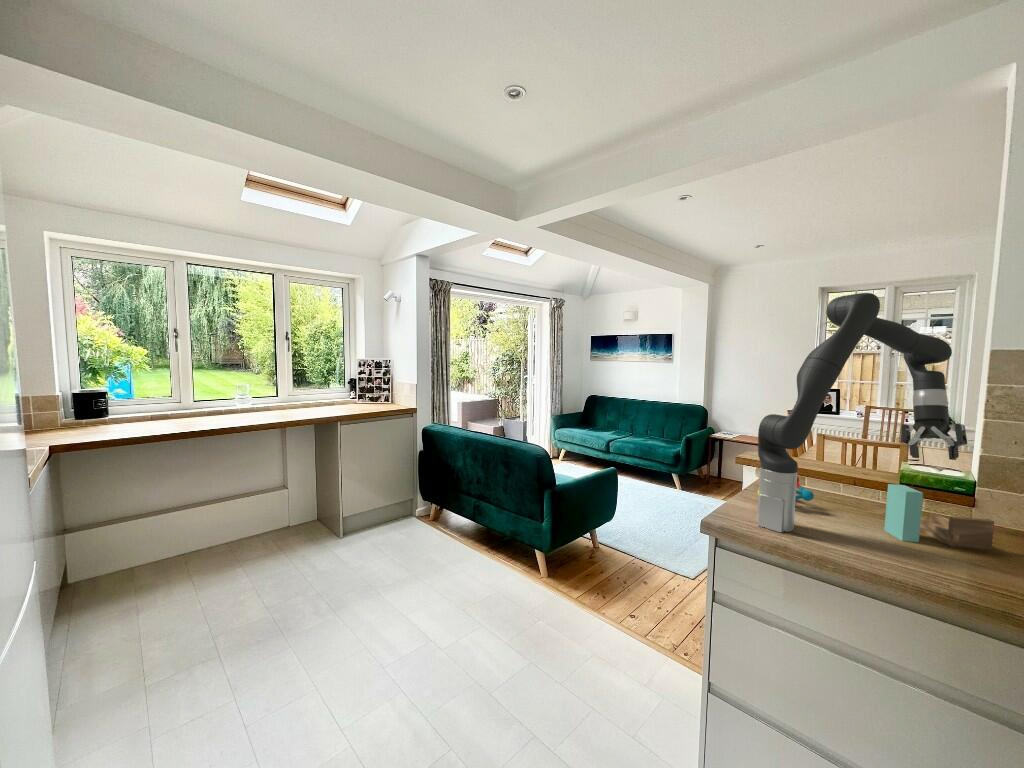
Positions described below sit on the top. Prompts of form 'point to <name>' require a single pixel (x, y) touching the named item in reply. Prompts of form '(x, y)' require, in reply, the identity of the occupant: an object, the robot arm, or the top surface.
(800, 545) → the top surface
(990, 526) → the brown wooden drawer
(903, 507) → the teal rectangular block
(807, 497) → the molecular model
